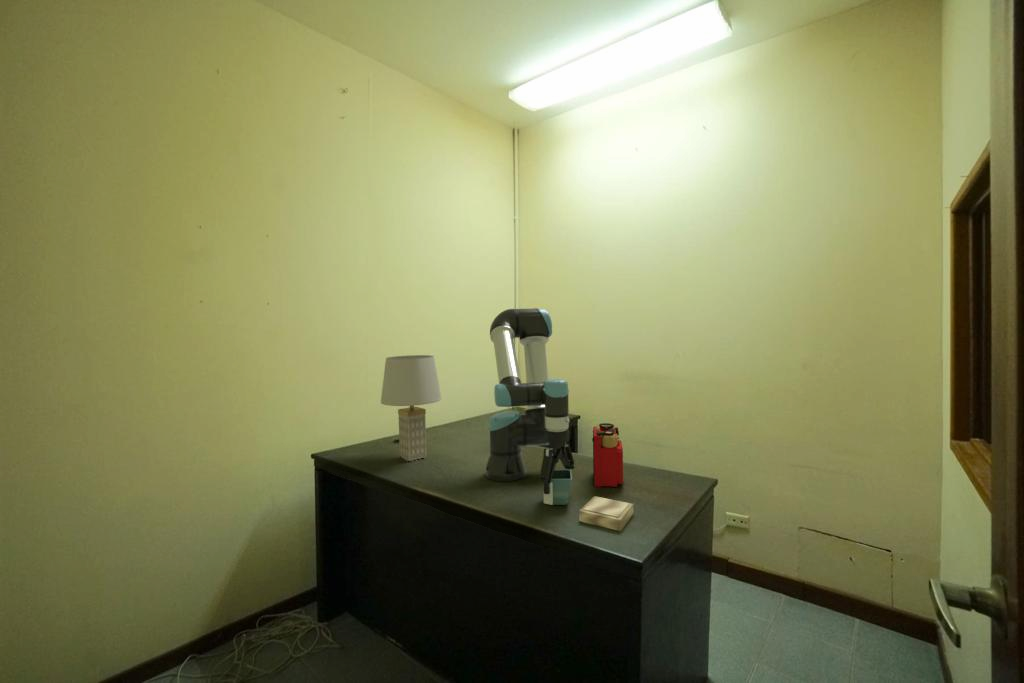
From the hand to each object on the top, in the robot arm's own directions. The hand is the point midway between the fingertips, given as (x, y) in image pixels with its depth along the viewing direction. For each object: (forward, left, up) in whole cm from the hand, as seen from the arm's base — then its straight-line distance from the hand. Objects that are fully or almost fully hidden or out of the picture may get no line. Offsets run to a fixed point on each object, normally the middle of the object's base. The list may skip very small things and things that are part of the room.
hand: (558, 496), depth 135 cm
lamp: (-74, +11, -2) cm, 75 cm away
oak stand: (+17, -3, -2) cm, 17 cm away
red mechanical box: (+7, +26, -2) cm, 27 cm away
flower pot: (0, 0, -2) cm, 2 cm away
